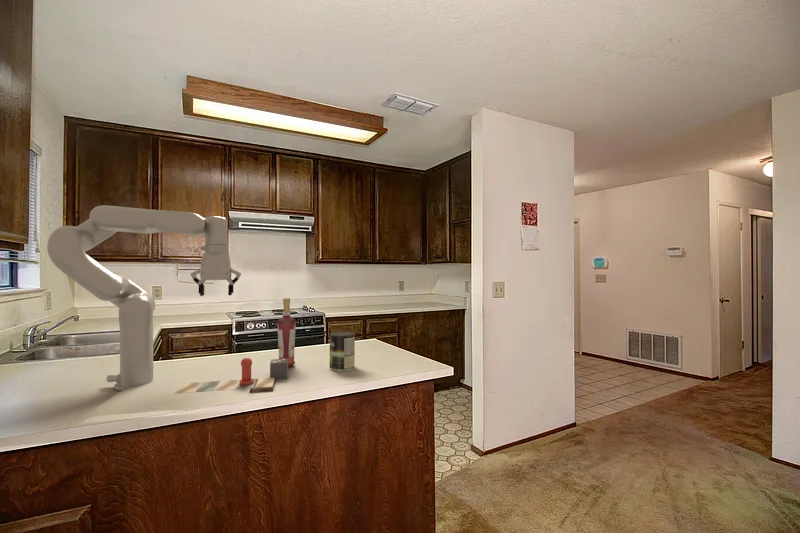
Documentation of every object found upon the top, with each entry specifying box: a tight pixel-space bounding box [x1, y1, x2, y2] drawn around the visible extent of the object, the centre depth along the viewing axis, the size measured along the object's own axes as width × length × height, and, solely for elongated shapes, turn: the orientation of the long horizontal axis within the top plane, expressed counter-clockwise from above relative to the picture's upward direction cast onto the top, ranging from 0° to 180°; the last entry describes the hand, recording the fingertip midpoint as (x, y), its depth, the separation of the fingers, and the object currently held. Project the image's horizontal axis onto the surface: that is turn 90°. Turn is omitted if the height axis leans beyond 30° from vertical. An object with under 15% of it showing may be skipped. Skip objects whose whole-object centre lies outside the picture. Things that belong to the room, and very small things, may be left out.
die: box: [269, 358, 289, 380], centre depth 143 cm, size 6×6×6 cm
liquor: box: [277, 297, 297, 369], centre depth 158 cm, size 7×7×28 cm
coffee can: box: [328, 330, 356, 372], centre depth 156 cm, size 10×10×14 cm
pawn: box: [239, 357, 254, 386], centre depth 131 cm, size 4×4×9 cm
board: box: [173, 377, 276, 395], centre depth 129 cm, size 30×12×1 cm, turn 104°
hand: (216, 295), depth 144 cm, fingers open, 9 cm apart
